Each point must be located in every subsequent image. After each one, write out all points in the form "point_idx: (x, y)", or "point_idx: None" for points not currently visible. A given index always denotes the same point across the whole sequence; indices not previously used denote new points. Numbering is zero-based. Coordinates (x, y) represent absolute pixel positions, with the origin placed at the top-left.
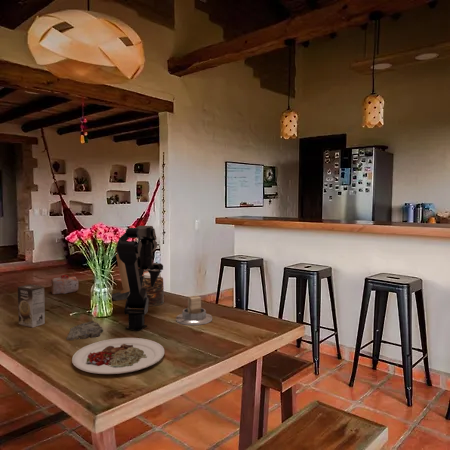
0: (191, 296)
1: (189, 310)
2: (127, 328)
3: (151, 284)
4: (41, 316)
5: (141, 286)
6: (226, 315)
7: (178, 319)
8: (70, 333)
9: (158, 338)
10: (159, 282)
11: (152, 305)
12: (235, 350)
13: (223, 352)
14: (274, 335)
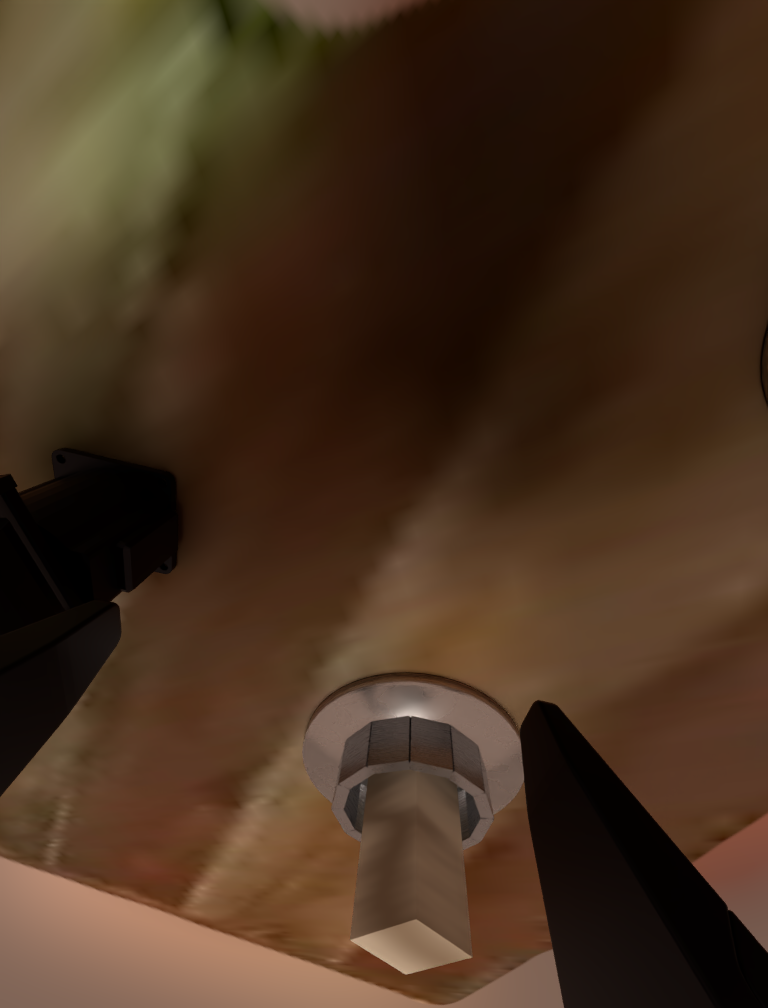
0: (429, 934)
1: (392, 799)
2: (56, 469)
3: (544, 741)
4: None
5: (36, 742)
6: (523, 855)
7: (340, 708)
8: None
9: None
10: None
11: (765, 379)
12: (126, 890)
13: (90, 868)
14: (311, 958)
